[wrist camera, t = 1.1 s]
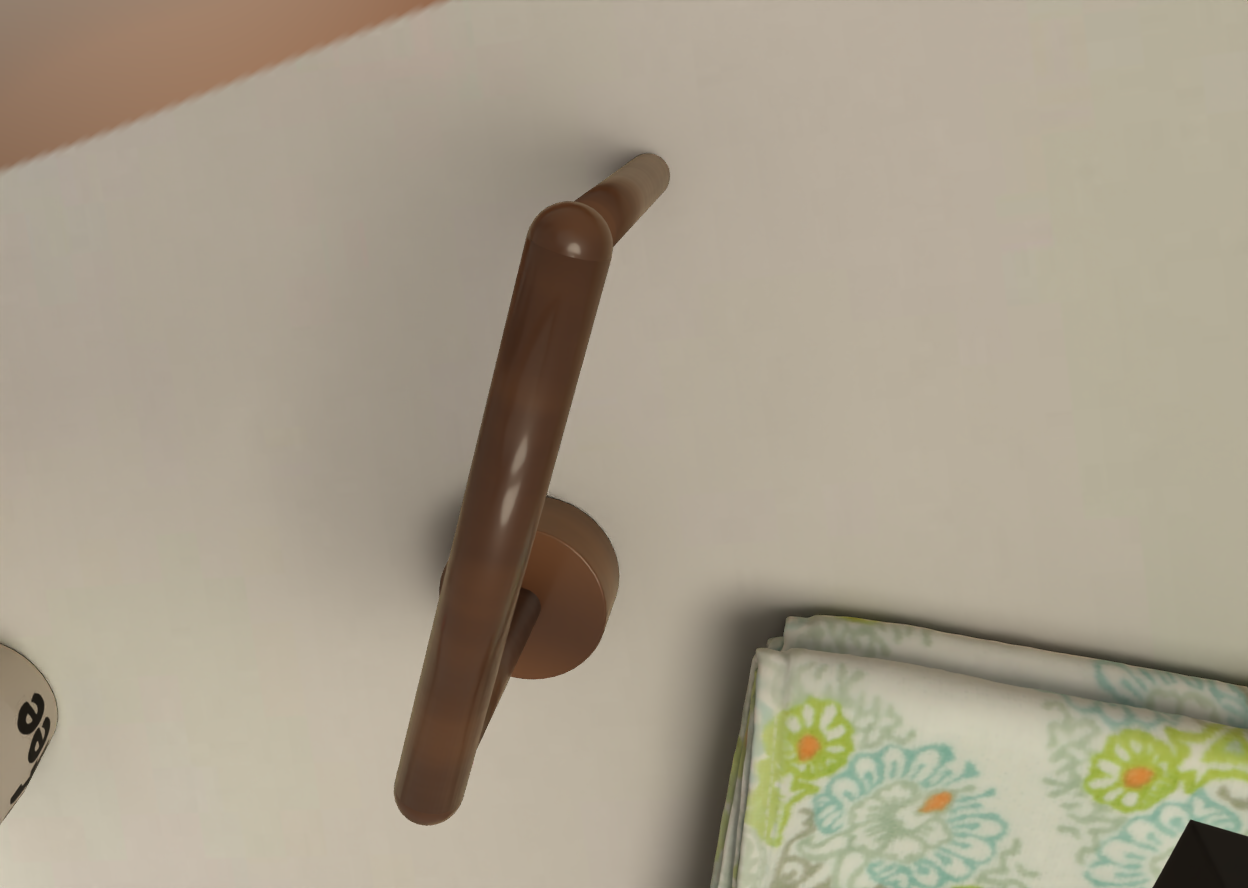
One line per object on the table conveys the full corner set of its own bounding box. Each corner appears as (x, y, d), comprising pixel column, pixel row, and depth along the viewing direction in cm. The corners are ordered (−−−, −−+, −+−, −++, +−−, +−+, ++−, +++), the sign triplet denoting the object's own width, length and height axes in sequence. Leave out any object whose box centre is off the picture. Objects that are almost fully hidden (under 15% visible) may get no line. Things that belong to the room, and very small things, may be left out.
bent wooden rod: (569, 117, 30) (430, 166, 19) (749, 172, 30) (714, 254, 19) (447, 611, 36) (291, 860, 25) (596, 660, 36) (502, 933, 25)
